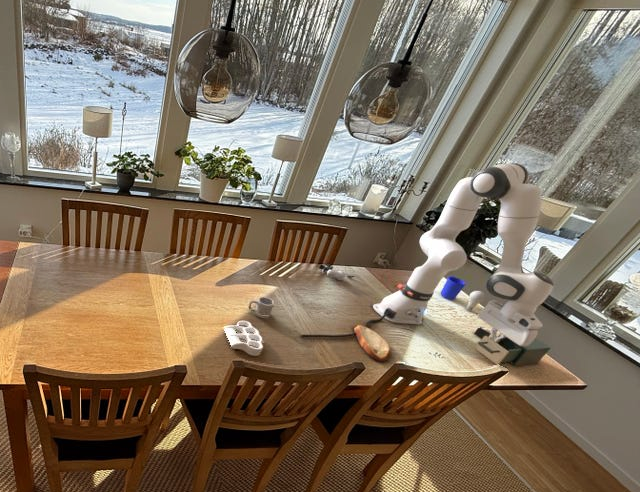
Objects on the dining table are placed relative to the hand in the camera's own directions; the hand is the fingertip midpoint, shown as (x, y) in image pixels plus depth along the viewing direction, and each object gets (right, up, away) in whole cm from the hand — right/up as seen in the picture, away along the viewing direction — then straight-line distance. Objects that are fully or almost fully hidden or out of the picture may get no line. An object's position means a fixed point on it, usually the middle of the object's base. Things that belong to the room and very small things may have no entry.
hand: (493, 340), depth 162 cm
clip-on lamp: (-41, +30, +52) cm, 73 cm away
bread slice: (-49, -2, +3) cm, 49 cm away
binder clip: (+11, 0, +20) cm, 22 cm away
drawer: (+5, -7, +6) cm, 10 cm away
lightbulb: (+20, +12, +39) cm, 46 cm away
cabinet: (+17, -7, +10) cm, 21 cm away
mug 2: (+17, +20, +50) cm, 57 cm away
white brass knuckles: (-103, 0, -6) cm, 103 cm away
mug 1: (-93, +11, +12) cm, 94 cm away
